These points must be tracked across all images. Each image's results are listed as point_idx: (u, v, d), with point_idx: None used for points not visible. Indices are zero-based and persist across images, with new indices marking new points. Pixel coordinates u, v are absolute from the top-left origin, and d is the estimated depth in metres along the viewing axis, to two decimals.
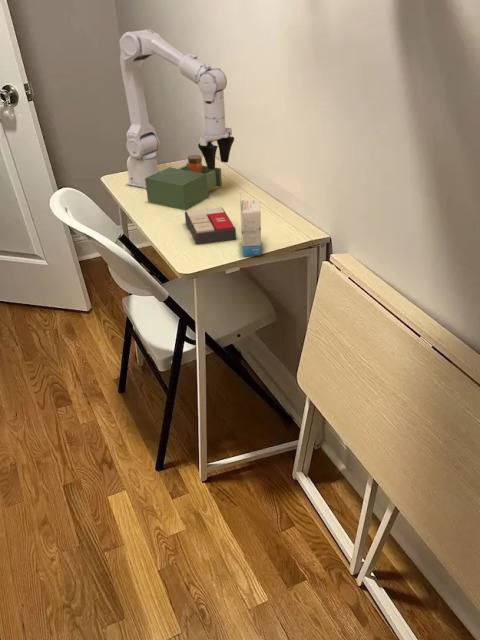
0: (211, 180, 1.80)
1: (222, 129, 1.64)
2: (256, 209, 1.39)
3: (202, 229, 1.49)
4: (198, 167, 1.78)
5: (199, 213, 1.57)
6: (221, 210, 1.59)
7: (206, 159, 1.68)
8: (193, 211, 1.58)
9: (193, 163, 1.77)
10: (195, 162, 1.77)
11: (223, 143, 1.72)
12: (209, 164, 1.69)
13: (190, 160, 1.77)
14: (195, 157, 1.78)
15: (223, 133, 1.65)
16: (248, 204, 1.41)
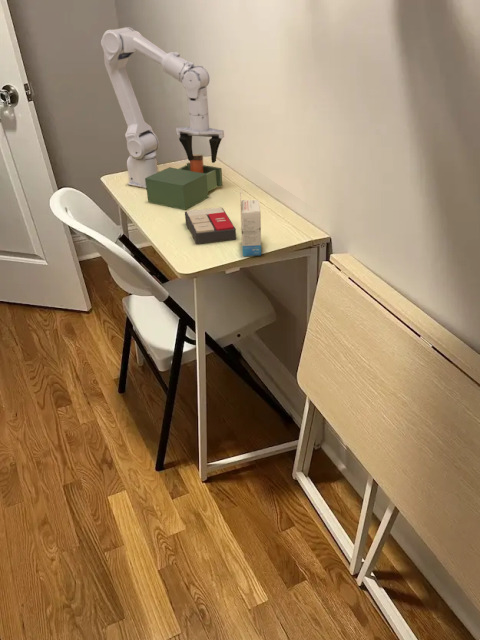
0: (212, 180, 1.80)
1: (194, 126, 1.68)
2: (256, 209, 1.39)
3: (202, 229, 1.49)
4: (199, 165, 1.79)
5: (199, 213, 1.57)
6: (221, 210, 1.59)
7: None
8: (193, 211, 1.58)
9: (194, 160, 1.78)
10: (196, 159, 1.78)
11: None
12: None
13: None
14: (196, 155, 1.79)
15: (195, 130, 1.68)
16: (248, 204, 1.41)
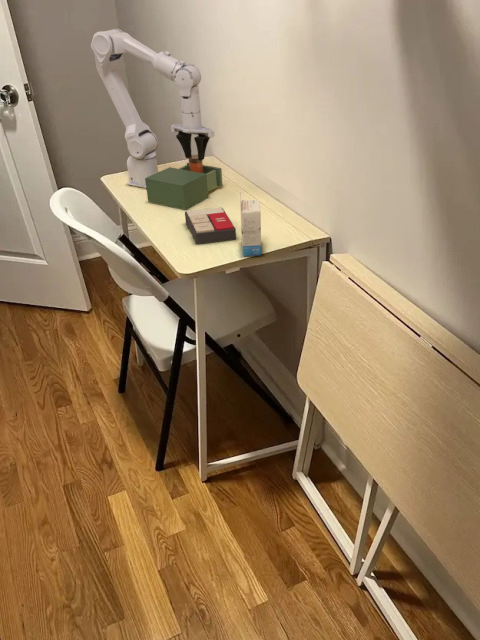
0: (211, 180, 1.80)
1: (184, 123, 1.70)
2: (256, 209, 1.39)
3: (202, 229, 1.49)
4: (199, 167, 1.79)
5: (199, 213, 1.57)
6: (221, 210, 1.59)
7: None
8: (193, 211, 1.58)
9: (193, 163, 1.77)
10: (196, 162, 1.77)
11: None
12: None
13: (191, 160, 1.77)
14: (196, 157, 1.78)
15: (185, 128, 1.71)
16: (248, 204, 1.41)
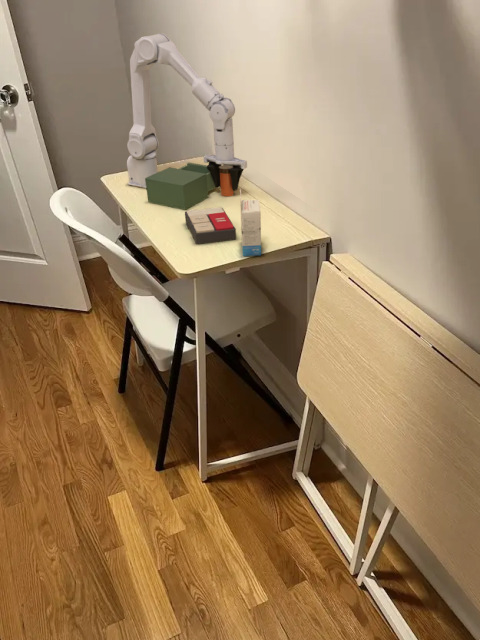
0: (212, 180, 1.80)
1: (218, 155, 1.72)
2: (256, 209, 1.39)
3: (202, 229, 1.49)
4: (229, 177, 1.77)
5: (199, 213, 1.57)
6: (221, 210, 1.59)
7: None
8: (193, 211, 1.58)
9: (224, 173, 1.76)
10: (226, 172, 1.75)
11: None
12: None
13: (221, 170, 1.75)
14: (226, 167, 1.76)
15: (219, 159, 1.73)
16: (248, 204, 1.41)
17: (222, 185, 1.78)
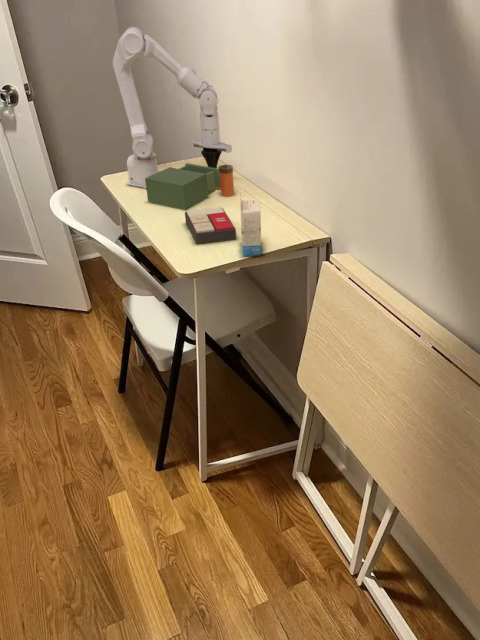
0: (210, 181, 1.79)
1: None
2: (256, 209, 1.39)
3: (202, 229, 1.49)
4: (229, 177, 1.77)
5: (199, 213, 1.57)
6: (221, 210, 1.59)
7: (213, 165, 1.87)
8: (194, 211, 1.58)
9: (224, 173, 1.76)
10: (226, 172, 1.75)
11: None
12: None
13: (221, 170, 1.75)
14: (226, 167, 1.76)
15: None
16: (248, 204, 1.41)
17: (222, 185, 1.78)
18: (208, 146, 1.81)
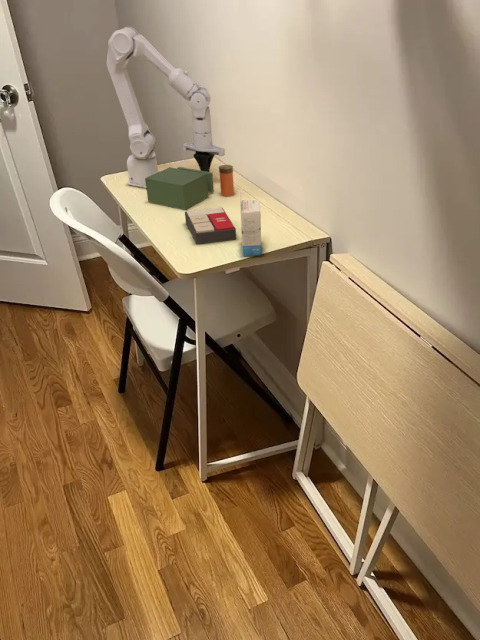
0: None
1: None
2: (256, 209, 1.39)
3: (202, 229, 1.49)
4: (229, 177, 1.77)
5: (199, 213, 1.57)
6: (221, 210, 1.59)
7: (205, 168, 1.83)
8: (194, 211, 1.58)
9: (224, 173, 1.76)
10: (226, 172, 1.75)
11: None
12: None
13: (221, 170, 1.75)
14: (226, 167, 1.76)
15: None
16: (248, 204, 1.41)
17: (222, 185, 1.78)
18: (200, 149, 1.78)
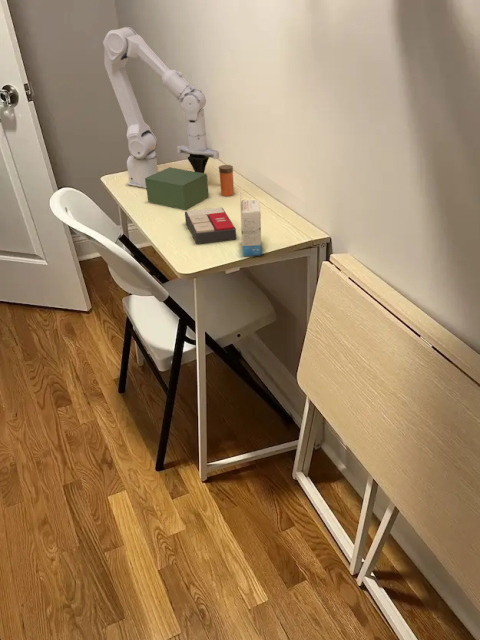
0: None
1: None
2: (256, 209, 1.39)
3: (202, 229, 1.49)
4: (229, 177, 1.77)
5: (199, 213, 1.57)
6: (221, 210, 1.59)
7: (200, 171, 1.81)
8: (194, 211, 1.58)
9: (224, 173, 1.76)
10: (226, 172, 1.75)
11: None
12: None
13: (221, 170, 1.75)
14: (226, 167, 1.76)
15: None
16: (248, 204, 1.41)
17: (222, 185, 1.78)
18: (195, 152, 1.76)
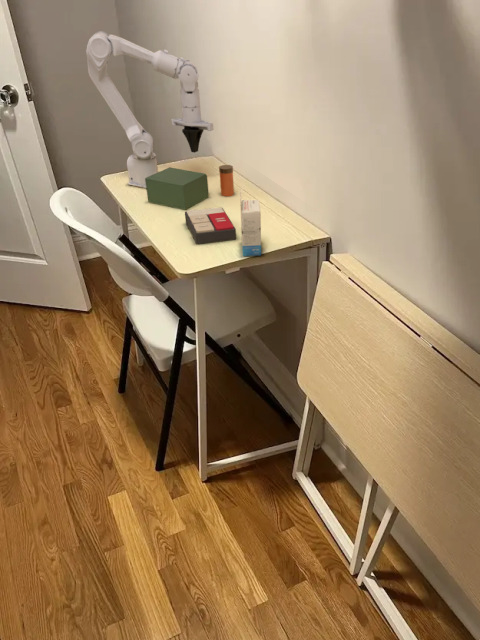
0: None
1: None
2: (256, 209, 1.39)
3: (202, 229, 1.49)
4: (229, 177, 1.77)
5: (199, 213, 1.57)
6: (221, 210, 1.59)
7: (194, 144, 1.82)
8: (194, 211, 1.58)
9: (224, 173, 1.76)
10: (226, 172, 1.75)
11: None
12: (196, 147, 1.83)
13: (221, 170, 1.75)
14: (226, 167, 1.76)
15: None
16: (248, 204, 1.41)
17: (222, 185, 1.78)
18: (189, 124, 1.77)
